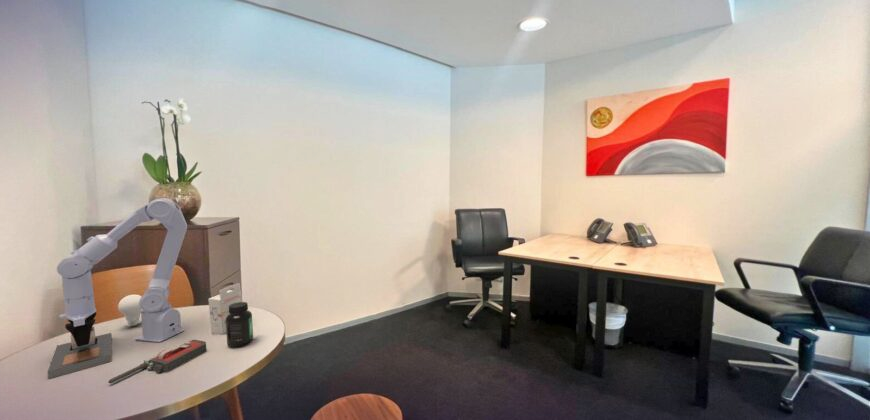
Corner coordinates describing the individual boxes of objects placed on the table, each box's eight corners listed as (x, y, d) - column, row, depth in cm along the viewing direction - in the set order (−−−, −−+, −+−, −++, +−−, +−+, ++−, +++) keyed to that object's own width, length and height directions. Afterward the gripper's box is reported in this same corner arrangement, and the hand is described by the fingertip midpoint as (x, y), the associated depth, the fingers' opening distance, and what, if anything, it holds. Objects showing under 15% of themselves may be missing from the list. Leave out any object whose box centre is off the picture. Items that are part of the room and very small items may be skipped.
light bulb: (135, 321, 112) (133, 291, 111) (152, 322, 111) (149, 292, 110) (114, 330, 105) (111, 298, 105) (131, 331, 105) (128, 299, 104)
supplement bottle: (258, 340, 98) (256, 302, 97) (236, 350, 92) (233, 310, 91) (244, 335, 101) (242, 299, 100) (222, 345, 95) (219, 306, 94)
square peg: (95, 350, 93) (93, 330, 92) (72, 356, 89) (70, 336, 89) (96, 345, 96) (94, 326, 95) (74, 350, 93) (72, 331, 92)
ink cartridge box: (231, 322, 111) (229, 281, 110) (244, 323, 110) (241, 282, 109) (210, 333, 103) (207, 289, 102) (223, 334, 102) (220, 290, 101)
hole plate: (111, 361, 87) (110, 354, 87) (48, 379, 79) (47, 370, 79) (111, 338, 100) (111, 332, 99) (57, 352, 92) (57, 345, 92)
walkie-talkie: (190, 346, 96) (106, 386, 77) (189, 331, 95) (104, 369, 76) (212, 350, 93) (131, 393, 74) (211, 335, 93) (129, 375, 74)
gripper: (60, 294, 93) (65, 338, 95) (54, 307, 83) (59, 356, 84) (95, 288, 98) (100, 330, 100) (93, 300, 88) (98, 347, 89)
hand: (84, 342), depth 92 cm, fingers closed on square peg, 4 cm apart
